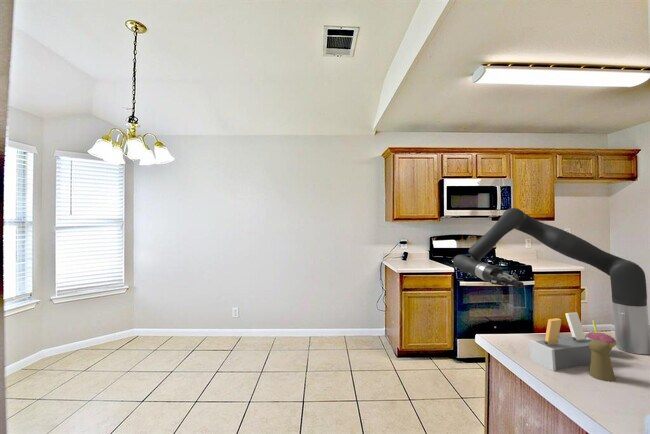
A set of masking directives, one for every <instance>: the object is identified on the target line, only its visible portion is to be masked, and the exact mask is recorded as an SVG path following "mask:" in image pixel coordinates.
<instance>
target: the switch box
mask: <svg viewBox="0 0 650 434" xmlns="http://www.w3.org/2000/svg"><path fill="white" fill-rule="evenodd" d="M591 340H593V339H590V338H587V337H586V339H583V340H573V338H572V336H566V337H558V343H556V344H545V343H544V341H545V339H543V340H534V339H528V345H529V359H530V361H532V362H534V363H536V364H538V365H540V366H542V367H544V368H545V369H548V370H550V371H552V372H556V371H559V370H566V369H572V368H579V367H587V366H590V363H591V349H590V348H589V342H590V341H591Z"/></svg>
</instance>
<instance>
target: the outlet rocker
mask: <svg viewBox="0 0 650 434" xmlns="http://www.w3.org/2000/svg"><path fill="white" fill-rule="evenodd" d="M561 325H562V319H560V318H558V317H556V318H549V319H547V326H546V331H545V337H544V338H545V339H544V340H545V341H544V343H545V344H556V343H558V338H560V337H559V336H560V330H561Z"/></svg>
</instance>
